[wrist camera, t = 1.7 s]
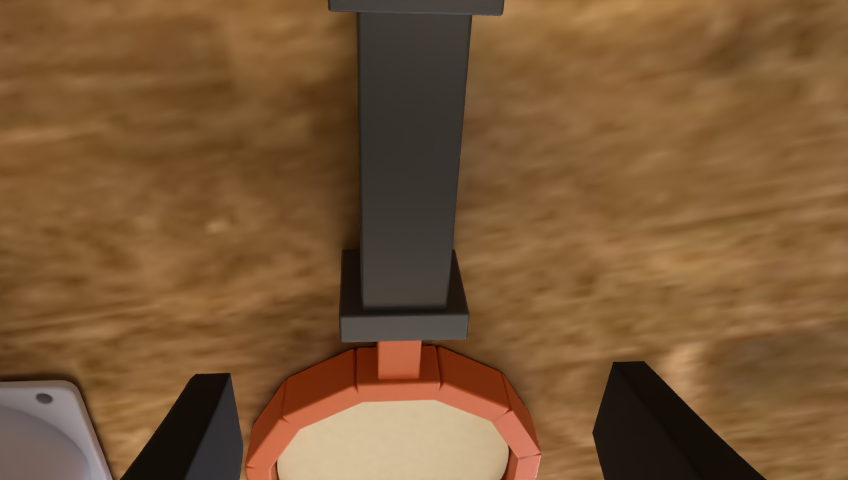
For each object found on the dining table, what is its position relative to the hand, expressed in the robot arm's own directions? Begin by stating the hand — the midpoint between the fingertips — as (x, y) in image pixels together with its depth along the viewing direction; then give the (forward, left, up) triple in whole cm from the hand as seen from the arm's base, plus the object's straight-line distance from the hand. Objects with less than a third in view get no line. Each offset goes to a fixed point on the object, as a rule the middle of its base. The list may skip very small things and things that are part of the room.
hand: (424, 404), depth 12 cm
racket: (0, -5, -8) cm, 9 cm away
